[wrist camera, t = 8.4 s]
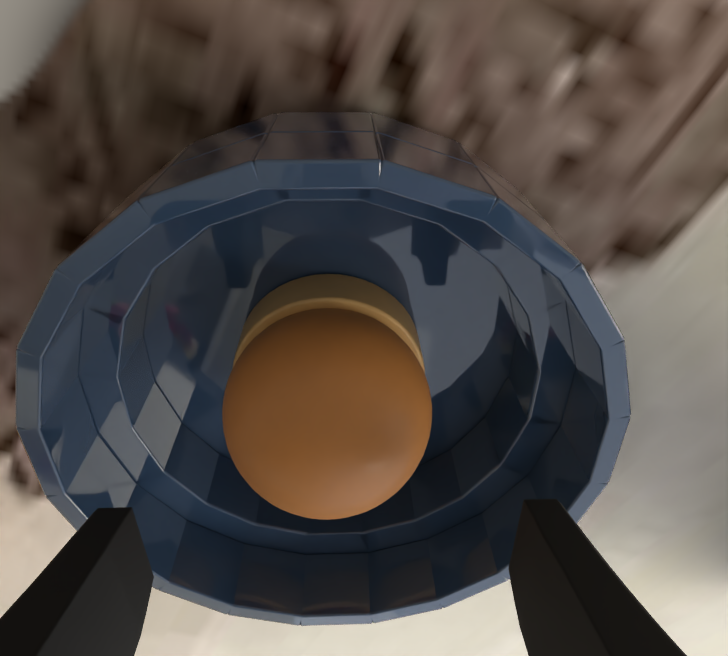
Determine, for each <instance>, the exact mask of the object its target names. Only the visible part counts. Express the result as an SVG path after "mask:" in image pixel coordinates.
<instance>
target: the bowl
mask: <svg viewBox="0 0 728 656" xmlns="http://www.w3.org/2000/svg"><path fill="white" fill-rule="evenodd" d="M318 274H341V275H347V276H353V277H356V278H359V279H363V280H366V281H368V282H370V283H373V284H375V285H377V286H379V287H380V288H382V289H384V290H385V291H387V292H388V293H389V294H391V295H392V296H393V297H394V298H396V299H397V300H398V301H399V302H400V303H401V304H402V306H403V307H404V308H405V309H406V311H407V312H408V314H409V315H410V317H411V319H412V321H413V323H414V325H415V328H416V330H417V333H418V338H419V342H420V347H421V352H422V356H423V362H424V368H425V376H426V379H427V382H428V385H429V389H430V395H431V403H432V423H431V430H430V436H429V440H428V443H427V446H426V449H425V452H424V455H423V457H422V459H421V461H420V462H419V464H418V466H417V468H416V470H415V472H414V473H413V474H412V476H411V477H410V478H409V480H408V481H407V482H406V483H405V484H404V485H403V487H402V488H401V489H400V490H399V491H398V492H397V493H395V494H394V495H393V496H392V497H390V498H389V499H388V500H386V501H385V502H383V503H382V504H380V505H378V506H377V507H375V508H373V509H371V510H369V511H366V512H364V513H361V514H358V515H354V516H350V517H346V518H340V519H330V520H323V519H311V518H306V517H301V516H298V515H295V514H291V513H289V512H286V511H284V510H281V509H279V508H278V507H276V506H274V505H272V504H271V503H269V502H268V501H266V500H265V499H264V498H262V497H261V496H260V495H259V494H258V493H256V492H255V491H254V490H253V489H252V488H251V487H250V486H249V484H248V483H247V482H246V481H245V480H244V478H243V477H242V476H241V474H240V473H239V471H238V470H237V468H236V466H235V464H234V462H233V460H232V458H231V455H230V453H229V451H228V448H227V444H226V440H225V436H224V432H223V421H222V407H223V398H224V393H225V389H226V385H227V381H228V379H229V376H230V374H231V371H232V369H233V361H234V358H235V354H236V350H237V347H238V343H239V340H240V337H241V333H242V330H243V326H244V324H245V322H246V320H247V317H248V316H249V314H250V313H251V311H252V310H253V308H254V307H255V306H256V305H257V304H258V303H259V301H260V300H261V299H263V298H264V297H265V296H266V295H267V294H268V293H270V292H271V291H273V290H274V289H276V288H277V287H279V286H281V285H283V284H285V283H287V282H290V281H292V280H295V279H298V278H301V277H306V276H311V275H318ZM630 415H631V409H630V397H629V385H628V373H627V361H626V350H625V340H624V336H623V334H622V333H621V331H620V329H619V327H618V326H617V324H616V322H615V320H614V318H613V317H612V315H611V313H610V311H609V309H608V308H607V306H606V304H605V302H604V301H603V299H602V297H601V295H600V293H599V292H598V290H597V288H596V286H595V284H594V283H593V281H592V279H591V277H590V276H589V274H588V272H587V270H586V268H585V267H584V265H583V263H582V262H581V261H580V260H579V259H578V257H577V256H576V255H575V254H574V253H573V252H572V251H571V249H570V248H569V247H568V246H567V245H566V244H565V242H564V241H563V240H562V239H561V238H560V237H559V236H558V234H557V233H556V232H555V231H554V230H553V229H552V227H551V226H550V225H549V224H548V223H547V222H546V221H545V220H544V218H543V217H542V216H541V215H540V214H539V213H538V212H537V210H536V209H535V208H534V207H533V206H532V205H531V203H530V202H529V201H528V200H527V199H526V198H525V196H524V195H523V194H522V193H521V192H520V191H519V190H518V189H517V188H515V187H514V186H513V185H512V184H510V183H509V182H508V181H507V180H505V179H504V178H503V177H502V176H500V175H499V174H498V173H497V172H495V171H494V170H493V169H492V168H490V167H489V166H488V165H487V164H485V163H484V162H483V161H482V160H480V159H479V158H478V157H477V156H475V155H474V154H473V153H472V152H470V151H469V150H468V149H467V148H465V147H464V146H463V145H462V144H460V143H457V142H456V141H455V140H453V139H450V138H447V137H444V136H441V135H438V134H435V133H432V132H429V131H426V130H423V129H420V128H417V127H415V126H412V125H409V124H406V123H403V122H400V121H397V120H394V119H391V118H388V117H385V116H382V115H379V114H376V113H371V114H370V113H368V112H281V113H279V114H275V113H274V114H271V115H268V116H265V117H263V118H260V119H257V120H254V121H251V122H248V123H246V124H243V125H240V126H237V127H234V128H231V129H229V130H226V131H223V132H220V133H217V134H214V135H212V136H209V137H206V138H203V139H200V140H198V141H195V142H194V143H193V144H192V145H188V146H187V147H186V148H185V149H183V150H182V151H181V152H180V153H179V154H178V155H176V156H175V157H174V158H173V159H172V160H170V161H169V162H168V163H167V164H166V165H164V166H163V167H162V168H161V169H160V170H159V171H157V172H156V173H155V174H154V175H153V176H151V177H150V178H149V179H148V180H147V181H145V182H144V183H143V184H142V185H141V186H139V187H138V188H137V189H136V190H135V191H134V192H132V193H131V194H130V195H129V196H128V197H127V198H126V199H125V200H124V201H123V202H122V203H121V204H120V205H119V206H118V207H117V208H116V209H115V210H114V211H113V212H112V213H111V214H110V215H109V216H108V217H107V218H106V219H105V220H104V221H103V222H102V223H101V224H99V225H98V226H97V227H96V228H95V229H94V230H93V231H92V232H91V233H90V234H89V235H88V236H87V237H86V238H85V239H84V240H83V241H82V242H81V243H80V244H79V245H78V246H77V247H76V248H75V249H74V250H73V251H72V252H71V253H70V254H69V255H68V256H67V257H66V258H65V259H64V260H63V261H61V262H60V263H59V264H58V266H57V267H56V268H55V269H54V271H53V273H52V275H51V277H50V279H49V281H48V283H47V285H46V287H45V289H44V292H43V294H42V296H41V298H40V300H39V302H38V304H37V306H36V308H35V310H34V312H33V314H32V316H31V318H30V320H29V322H28V324H27V326H26V328H25V330H24V332H23V334H22V336H21V338H20V340H19V343H18V345H17V349H16V427H17V428H16V430H17V432H18V435H19V437H20V439H21V442H22V444H23V446H24V449H25V451H26V453H27V456H28V458H29V460H30V462H31V465H32V467H33V469H34V472H35V474H36V476H37V479H38V481H39V483H40V486H41V488H42V490H43V493H44V495H46V497H47V499H48V500H49V501H50V502H51V503H52V504H53V505H54V506H55V508H56V509H57V510H58V511H59V512H60V513H61V514H62V515H63V516H64V517H65V518H66V520H67V521H68V522H69V523H70V524H71V525H72V526H73V527H74V528H75V529H76V530H77V531H78V530H79V528H80V527H81V526H82V525H83V524H84V523H85V522H86V520H87V519H88V518H89V517H90V516H91V515H92V513H93V512H94V511H95V510H96V509H98V508H114V507H132V509H133V512H134V515H135V519H136V522H137V525H138V528H139V531H140V534H141V538H142V541H143V544H144V547H145V550H146V553H147V557H148V560H149V563H150V566H151V569H152V572H153V576H154V579H153V583H152V587H153V588H155V589H159V591H162V592H165V593H167V594H170V595H173V596H176V597H179V598H181V599H184V600H187V601H190V602H193V603H195V604H198V605H201V606H204V607H207V608H209V609H212V610H215V611H218V612H221V613H223V614H228V615H232V616H239V617H245V618H252V619H258V620H265V621H272V622H278V623H285V624H291V625H301V626H310V625H343V624H371V623H372V622H373V623H378V622H383V621H387V620H392V619H396V618H401V617H406V616H410V615H415V614H420V613H424V612H429V611H434V610H438V609H442V607H443V608H445V607H448V606H450V605H452V604H455V603H457V602H459V601H462V600H464V599H466V598H469V597H471V596H473V595H475V594H478V593H480V592H482V591H485V590H487V589H489V588H492V587H494V586H496V585H499V584H501V583H503V582H506V581H507V580H508V579H510V575H509V570H508V568H509V563H510V559H511V554H512V550H513V546H514V541H515V537H516V532H517V528H518V523H519V519H520V514H521V510H522V505H523V501H524V499H557V500H558V501H559V502H560V503H561V504H562V505H563V507H564V508H565V509H566V510H567V512H568V513H569V514H570V516H571V517H572V518H573V520H574V521H575V522H576V524H577V523H578V522H579V520H580V519H581V518H582V517H583V515H584V514H585V513H586V511H587V510H588V509H589V508H590V506H591V505H592V504H593V503H594V501H595V500H596V499H597V497H598V496H599V495H600V494H601V492H602V491H603V490H604V488H605V487H606V486H607V484H608V482H609V480H610V477H611V474H612V471H613V468H614V465H615V462H616V459H617V456H618V453H619V450H620V447H621V444H622V441H623V438H624V435H625V432H626V429H627V426H628V423H629V420H630Z"/></svg>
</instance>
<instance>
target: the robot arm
mask: <svg viewBox="0 0 728 656" xmlns="http://www.w3.org/2000/svg"><path fill="white" fill-rule="evenodd" d="M508 570H509V575H510V580H511V585H512V591H513V596H514V601H515V606H516V610H517V615H518V620H519V625H520V628H521V632H522V635H523V638H524V642H525V645H526V648H527V651H528V655H529V656H687V655H686V654H685V653H684V652H683V651H682V650H681V649H680V648H679V647H678V646H677V645H676V643H675V642H674V641H673V640H672V639H671V638H670V637H669V636H668V635H667V633H666V632H665V631H664V630H663V629H662V628H661V627H660V626H659V624H658V623H657V622H656V621H655V620H654V619H653V618H652V616H651V615H650V614H649V613H648V612H647V610H646V609H645V608H644V607H643V606H642V605H641V603H640V602H639V601H638V600H637V599H636V597H635V596H634V595H633V594H632V593H631V592H630V590H629V589H628V588H627V587H626V586H625V584H624V583H623V582H622V581H621V580H620V578H619V577H618V576H617V575H616V573H615V572H614V571H613V570H612V568H611V567H610V566H609V565H608V563H607V562H606V561H605V560H604V558H603V557H602V556H601V555H600V553H599V552H598V551H597V550H596V548H595V547H594V546H593V544H592V543H591V542H590V541H589V539H588V538H587V537H586V535H585V534H584V533H583V532H582V530H581V529H580V528H579V526H578V525H577V524H576V522H575V521H574V520H573V518H572V517H571V516H570V514H569V513H568V512H567V510H566V509H565V508H564V507H563V505H562V504H561V503H560V502H559V501H558V500H557V499H524V501H523V505H522V510H521V514H520V519H519V523H518V528H517V532H516V537H515V541H514V546H513V550H512V554H511V559H510V563H509V568H508ZM153 579H154V576H153V572H152V569H151V566H150V563H149V560H148V557H147V553H146V550H145V547H144V544H143V541H142V538H141V534H140V531H139V528H138V525H137V522H136V519H135V515H134V512H133V509H132V507H114V508H98V509H96V510H95V511H94V512H93V513H92V515H91V516H90V517H89V518H88V519H87V520H86V522H85V523H84V524H83V525H82V526H81V527H80V528H79V530H78V531H77V532H76V533H75V534H74V535H73V537H72V538H71V539H70V540H69V541H68V542H67V544H66V545H65V546H64V547H63V548H62V549H61V551H60V552H59V553H58V554H57V555H56V556H55V558H54V559H53V560H52V561H51V562H50V563H49V564H48V566H47V567H46V568H45V569H44V570H43V571H42V573H41V574H40V575H39V576H38V577H37V578H36V579H35V581H34V582H33V583H32V584H31V585H30V586H29V587H28V588H27V589H26V591H25V592H24V593H23V594H22V595H21V596H20V597H19V598H18V599H17V601H16V602H15V603H14V604H13V605H12V606H11V607H10V608H9V609H8V610H7V612H6V613H5V614H4V615H3V616H2V617H1V618H0V656H134V654H135V651H136V648H137V645H138V642H139V639H140V636H141V632H142V628H143V624H144V619H145V615H146V611H147V607H148V602H149V597H150V593H151V588H152V583H153Z"/></svg>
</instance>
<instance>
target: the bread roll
mask: <svg viewBox="0 0 728 656" xmlns="http://www.w3.org/2000/svg"><path fill="white" fill-rule="evenodd" d="M222 421H223V432H224V436H225V440H226V444H227V448H228V451H229V453H230V455H231V458H232V460H233V462H234V464H235V466H236V468H237V470H238V471H239V473H240V474H241V476H242V477H243V478H244V480H245V481H246V482H247V483H248V484H249V486H250V487H251V488H252V489H253V490H254V491H255V492H256V493H258V494H259V495H260V496H261V497H262V498H264V499H265V500H266V501H268V502H269V503H271V504H272V505H274V506H276V507H278V508H279V509H281V510H284V511H286V512H289V513H291V514H295V515H298V516H301V517H306V518H311V519H323V520H330V519H340V518H346V517H350V516H354V515H358V514H361V513H364V512H366V511H369V510H371V509H373V508H375V507H377V506H378V505H380V504H382V503H383V502H385V501H386V500H388V499H389V498H390V497H392V496H393V495H394V494H395V493H397V492H398V491H399V490H400V489H401V488H402V487H403V485H404V484H405V483H406V482H407V481H408V480H409V478H410V477H411V476H412V474H413V473H414V472H415V470H416V468H417V466H418V464H419V462H420V461H421V459H422V457H423V455H424V452H425V449H426V446H427V443H428V440H429V436H430V430H431V423H432V403H431V395H430V389H429V385H428V382H427V379H426V376H425V368H424V362H423V356H422V352H421V347H420V342H419V338H418V333H417V330H416V328H415V325H414V323H413V321H412V319H411V317H410V315H409V314H408V312H407V311H406V309H405V308H404V307H403V306H402V304H401V303H400V302H399V301H398V300H397V299H396V298H394V297H393V296H392V295H391V294H389V293H388V292H387V291H385V290H384V289H382V288H380V287H379V286H377V285H375V284H373V283H370V282H368V281H366V280H363V279H359V278H356V277H353V276H347V275H341V274H318V275H311V276H306V277H301V278H298V279H295V280H292V281H290V282H287V283H285V284H283V285H281V286H279V287H277V288H276V289H274V290H273V291H271V292H270V293H268V294H267V295H266V296H265V297H264V298H263V299H261V300H260V301H259V303H258V304H257V305H256V306H255V307H254V308H253V310H252V311H251V313H250V314H249V316H248V317H247V320H246V322H245V324H244V326H243V330H242V333H241V337H240V340H239V343H238V347H237V350H236V354H235V358H234V361H233V369H232V371H231V374H230V376H229V379H228V381H227V385H226V389H225V393H224V398H223V407H222Z"/></svg>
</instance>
